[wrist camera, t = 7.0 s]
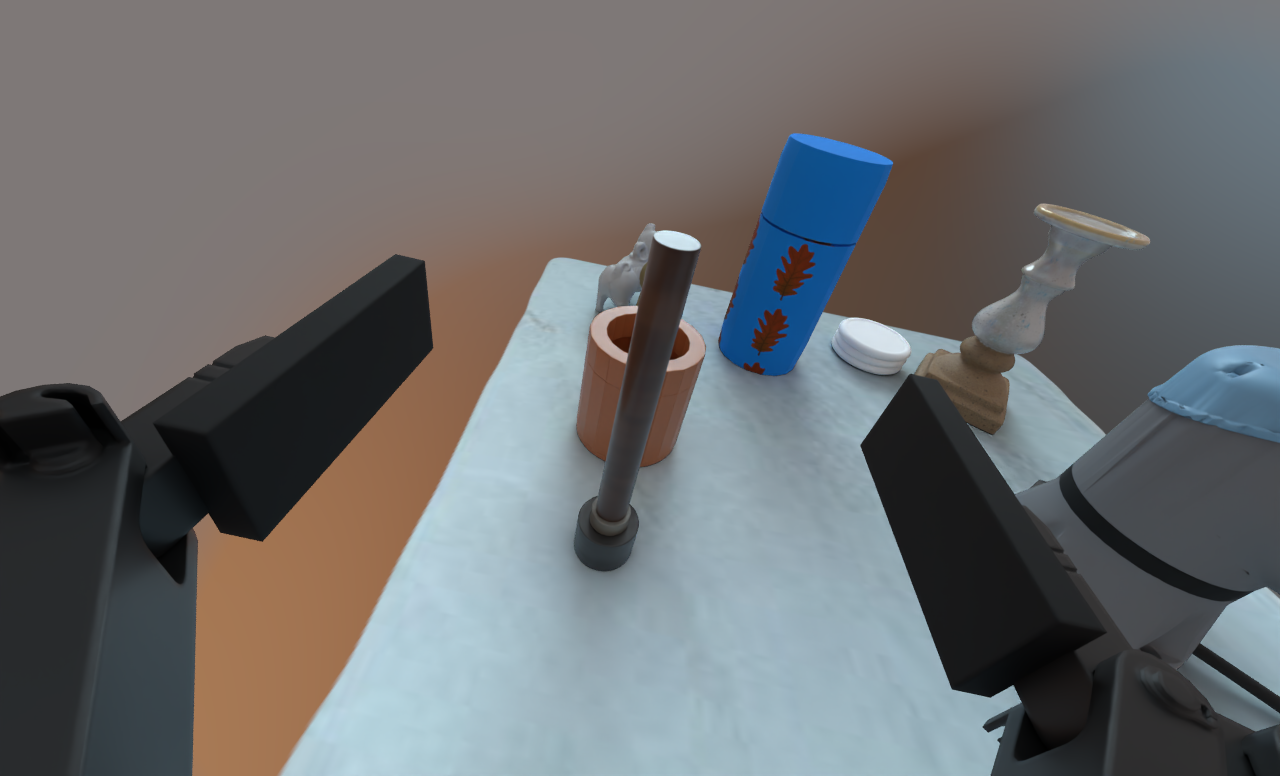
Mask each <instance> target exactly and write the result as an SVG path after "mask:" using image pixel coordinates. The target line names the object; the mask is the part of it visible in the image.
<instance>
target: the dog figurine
mask: <svg viewBox="0 0 1280 776" xmlns="http://www.w3.org/2000/svg"><path fill="white" fill-rule="evenodd" d="M654 233H656V231H655V225H654V224H648V225H647V226H646V227H645V229H644V231H643V233H642V234H641V235H640V236H639V239H638V242H637V243H636V244H635V246H634V249H633V252H631V253H630V255H629V256H627V257H624V258H623V259H622V260H621V261H620V262H619V263H617V265H610V266H608V267H607V268H606V269H605V270H604V271H603V272H602V273H601V275H600V277H599V284H598V295H597V302H596V309H595V310H597V311H598V312H601V311H603V305H604V302H605V301H606V299H607V298H608V297H609V298H611V300H612V301H613V302H614V304H615V305H616V306H617V307H620V306H629V303H630V299H631V298H632V296H633V295H634V293H635V292H640V291H641V290H642V288H641V285H640V280H639V277H640V272H641V270H642V267H643V266H644V265H645V264H646V263H647V262H648V257H649V252H650V247H651V243H652V238H653V235H654Z"/></svg>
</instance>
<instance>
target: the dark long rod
mask: <svg viewBox="0 0 1280 776" xmlns="http://www.w3.org/2000/svg"><path fill="white" fill-rule="evenodd" d="M700 249H701V244H700V243H699V241H697V240H696V239H694V238H693V237H690V236H689V235H686V234H683V233H680V232H675V231H658V232H656V233H654V235H653V238H652V243H651V247H650V252H649V257H648V262H647V267H646V271H645V276H644V281H643V286H642V290H641V295H640V300H639V305H638V309H637V314H636V319H635V324H634V328H633V333H632V338H631V343H630V347H629V352H628V357H627V362H626V366H625V371H624V376H623V381H622V385H621V390H620V395H619V400H618V405H617V409H616V414H615V419H614V424H613V428H612V433H611V438H610V443H609V447H608V452H607V457H606V462H605V466H604V471H603V476H602V481H601V485H600V490H599V495H598V496H596V497H594V498H592V499H590V500H588V501H587V502H586V503H585V504H584V505H583V506H582V508H581V509H580V512H579V515H578V521H577V527H576V532H575V538H574V548H575V552H576V554H577V556H578V558H579V559H580V560H581V561H582V562H583V563H584V564H585V565H586V566H588V567H590V568H592V569H595V570H599V571H609V570H613V569H616V568H618V567H620V566H621V565H623V564H624V563H625V562H626V561H627V559H628V558H629V556H630V553H631V550H632V547H633V544H634V541H635V537H636V534H637V531H638V527H639V520H638V516H637V513H636V511H635V510H634V508H633V507H632V506H631V505H630V504H629V503H630V499H631V496H632V492H633V489H634V485H635V482H636V478H637V474H638V471H639V467H640V464H641V460H642V457H643V453H644V449H645V446H646V442H647V439H648V435H649V432H650V428H651V424H652V421H653V417H654V414H655V410H656V407H657V403H658V399H659V396H660V392H661V389H662V385H663V382H664V378H665V374H666V371H667V367H668V364H669V360H670V357H671V353H672V349H673V346H674V342H675V339H676V335H677V332H678V328H679V324H680V321H681V317H682V314H683V310H684V307H685V303H686V299H687V296H688V292H689V289H690V285H691V282H692V278H693V274H694V271H695V267H696V264H697V260H698V256H699V253H700Z"/></svg>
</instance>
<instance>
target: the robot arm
mask: <svg viewBox="0 0 1280 776" xmlns="http://www.w3.org/2000/svg"><path fill="white" fill-rule="evenodd" d="M432 349H433V341H432V331H431V320H430V310H429V300H428V290H427V280H426V270H425V261H423V260H418V259H414V258H409V257H405V256H401V255H397V254H395V255H394V256H392V257H391V258H389V259H388V260H386V261H385V262H384V263H382V264H381V265H379V266H378V267H376V268H375V269H373V270H372V271H371V272H369V273H368V274H366V275H365V276H363V277H362V278H360V279H359V280H358V281H356V282H355V283H353V284H352V285H350V286H349V287H348V288H346V289H345V290H343V291H342V292H340V293H339V294H337V295H336V296H335V297H333V298H332V299H330V300H329V301H327V302H326V303H324V304H323V305H322V306H320V307H319V308H317V309H316V310H314V311H313V312H311V313H310V314H309V315H307V316H306V317H304V318H303V319H301V320H300V321H299V322H297V323H296V324H294V325H293V326H291V327H290V328H288V329H287V330H286V331H284V332H283V333H281V334H280V335H278V336H277V337H276V338H274V337H269V336H263V337H260V338H257V339H255V340H252V341H249V342H247V343H244V344H241V345H238V346H236V347H234V348H233V349H231V350H230V351H228V352H226V353H225V354H224V355H222V356H220V357H219V358H217V359H216V360H214V361H213V364H212V365H209V364H208V365H207V366H205V367H203V368H202V369H200V370H199V371H198V372H196V373H194V377H193V378H191V377H188V378H187V379H185V380H184V381H182V382H181V383H179V384H178V385H176V386H174V387H173V388H171V389H170V390H168V391H167V392H165V393H164V394H162V395H161V396H159V397H158V398H156V399H155V400H153V401H152V402H150V403H148V404H147V405H146V406H144V407H142V408H141V409H139V410H138V411H136V412H135V413H133V414H132V415H130V416H129V417H127V418H126V419H124V420H122V421H121V422H120V421H119V419H118V418H117V416H116V415H115V413H114V412H113V410H112V409H111V407H110V406H109V404H108V403H107V401H106V400H105V398H104V397H103V396H102V394H101V393H100V392H99V391H97V390H95V389H93V388H91V387H90V386H85V385H78V384H70V383H66V384H50V385H42V386H36V387H32V388H27V389H22V390H18V391H14V392H11V393H9V394H6V395H3V396H1V397H0V776H192V762H193V761H192V760H193V721H194V679H195V637H196V595H197V594H196V593H197V554H198V540H197V537H196V534H195V531H194V530H193V527H194V526H195V525H196V524H197V523H198V522H199V521H200V520H201V519H202V518H204V517H205V516H206V515H207V514H208V513H209V515H210V516H211V518H212V519H213V521H214V523H215V524H216V526H217V528H218V529H219V531H220V532H221V533H225V534H229V535H234V536H239V537H243V538H248V539H253V540H257V541H262V542H263V540H264V539H265V538H266V537H267V536H268V535H269V534H270V533H271V531H272V530H273V529H274V528H275V527H276V525H278V523H279V522H280V521H281V520H282V519H283V518H284V517H285V516H286V514H287V513H288V512H289V511H290V510H291V509H292V508H293V506H294V505H295V504H296V503H297V502H298V501H299V500H300V499H301V497H302V496H303V495H304V494H305V493H306V492H307V491H308V490H309V488H310V487H311V486H312V485H313V484H314V483H315V482H316V480H317V479H318V478H319V477H320V476H321V474H323V472H324V471H325V470H326V469H327V468H328V467H329V466H330V465H331V463H332V462H333V461H334V460H335V459H336V458H337V457H338V456H339V454H340V453H341V452H342V451H343V450H344V449H345V448H346V446H347V445H348V444H349V443H350V442H351V441H352V440H353V438H354V437H355V436H356V435H357V434H358V433H359V432H360V431H361V429H362V428H363V427H364V426H365V425H366V424H367V423H368V422H369V420H370V419H371V418H372V417H373V416H374V415H375V414H376V412H377V411H378V410H379V409H380V408H381V407H382V406H383V405H384V403H385V402H386V401H387V400H388V399H389V398H390V397H391V396H392V394H393V393H394V392H395V391H396V390H397V389H398V388H399V386H400V385H401V384H402V383H403V382H404V381H405V380H406V378H407V377H408V376H409V375H410V374H411V373H412V372H413V371H414V369H415V368H416V367H417V366H418V365H419V364H420V363H421V362H422V360H423V359H424V358H425V357H426V356H427V355H428V354H429V352H430V351H431V350H432ZM1148 396H1149V399H1148V400H1147V401H1145V402H1144V403H1143V404H1142V405H1141V406H1140V407H1139V408H1137V409H1136V410H1135V411H1134V412H1133V413H1131V414H1130V415H1129V416H1128V417H1127V418H1126V419H1124V420H1123V421H1122V422H1121V423H1120V424H1119V425H1117V426H1116V427H1115V428H1114V429H1113V430H1112V431H1110V432H1109V433H1108V434H1107V435H1106V436H1105V437H1103V438H1102V439H1101V440H1100V441H1099V442H1098V443H1096V444H1095V445H1094V446H1093V447H1092V448H1091V449H1090V450H1088V451H1087V452H1086V453H1085V454H1084V455H1083V456H1081V457H1080V458H1079V459H1078V460H1077V461H1076V462H1075V463H1074V464H1073V465H1071V466H1070V467H1069V468H1068V469H1067V470H1066V471H1064V472H1063V473H1062V474H1061V475H1060V476H1058V477H1057V478H1055V479H1053V480H1051V481H1048V482H1045V481H1042V480H1039V481H1037V482H1036V483H1035V484H1034V485H1033V486H1032V487H1031V488H1030V489H1028V490H1025V491H1023V492H1020V493H1017V494H1014V493H1013V491H1012V490H1011V488H1010V487H1009V485H1008V484H1007V483H1006V481H1005V480H1004V478H1003V477H1002V475H1001V474H1000V472H999V471H998V469H997V468H996V466H995V465H994V463H993V462H992V460H991V459H990V457H989V456H988V454H987V453H986V451H985V450H984V448H983V447H982V445H981V444H980V442H979V441H978V439H977V438H976V436H975V435H974V433H973V432H972V430H971V429H970V427H969V426H968V425H967V423H966V422H965V420H964V419H963V417H962V416H961V414H960V413H959V411H958V410H957V408H956V407H955V405H954V404H953V402H952V401H951V399H950V398H949V396H948V395H947V393H946V392H945V390H944V389H943V387H942V386H941V384H940V383H939V381H938V380H936V379H931V378H927V377H923V376H918V375H914V374H909V376H908V377H907V379H906V380H905V382H904V383H903V384H902V386H901V387H900V389H899V390H898V392H897V393H896V395H895V396H894V397H893V399H892V400H891V402H890V403H889V405H888V406H887V408H886V409H885V410H884V412H883V413H882V415H881V416H880V418H879V419H878V421H877V422H876V423H875V425H874V426H873V428H872V429H871V431H870V432H869V434H868V435H867V436H866V438H865V439H864V441H863V442H862V444H861V445H860V446H861V448H862V451H863V454H864V456H865V459H866V462H867V464H868V467H869V470H870V472H871V475H872V478H873V480H874V483H875V486H876V488H877V491H878V494H879V496H880V499H881V502H882V504H883V507H884V510H885V512H886V515H887V518H888V520H889V523H890V526H891V528H892V531H893V534H894V536H895V539H896V542H897V544H898V547H899V550H900V552H901V555H902V558H903V560H904V563H905V566H906V568H907V571H908V574H909V576H910V579H911V582H912V584H913V587H914V590H915V592H916V595H917V598H918V600H919V603H920V606H921V608H922V611H923V614H924V616H925V619H926V622H927V624H928V627H929V630H930V632H931V635H932V638H933V640H934V643H935V646H936V648H937V651H938V654H939V656H940V659H941V662H942V664H943V667H944V670H945V672H946V675H947V678H948V680H949V683H950V686H951V688H952V689H953V690H957V691H962V692H967V693H971V694H976V695H981V696H985V697H990V698H991V697H992V696H994V695H996V694H998V693H1000V692H1001V691H1003V690H1005V689H1007V688H1009V687H1010V686H1012V685H1014V687H1015V689H1016V691H1017V693H1018V695H1019V698H1020V700H1021V702H1022V703H1020V704H1018V705H1016V706H1014V707H1012V708H1010V709H1009V710H1007V711H1005V712H1003V713H1001V714H999V715H997V716H995V717H993V718H991V719H989V720H988V721H987V722H986V723H985V724H984V726H983V728H984V729H985V730H986V731H987V732H990V731H992V730H994V729H997V728H999V727H1001V726H1005V729H1004V732H1003V736H1002V737H1001V738H999V739H998V740H997V741H998V742H1000V746H999V749H998V753H997V756H996V759H995V763H994V766H993V769H992V773H991V776H1280V724H1279V725H1276V726H1273V727H1269V728H1266V729H1263V730H1260V731H1257V732H1255V731H1253V730H1251V729H1249V728H1247V727H1245V726H1243V725H1241V724H1238V723H1236V722H1234V721H1232V720H1230V719H1228V718H1226V717H1224V716H1222V715H1220V714H1218V713H1216V712H1215V711H1214V710H1213V708H1212V707H1211V705H1210V704H1209V702H1208V701H1207V699H1206V698H1205V697H1204V696H1203V695H1202V694H1201V693H1200V692H1199V691H1198V690H1197V688H1196V687H1195V686H1194V685H1193V684H1192V683H1191V682H1190V681H1189V680H1188V679H1187V678H1185V677H1184V676H1183V675H1182V674H1180V673H1179V672H1178V671H1177V670H1176V669H1178V668H1179V667H1181V666H1182V665H1183V664H1184V662H1185V661H1186V660H1188V658H1189V657H1190V655H1191V654H1194V655H1195V656H1197V657H1198V658H1200V659H1201V660H1203V661H1204V662H1206V663H1207V664H1208V665H1210V666H1211V667H1213V668H1214V669H1216V670H1217V671H1219V672H1220V673H1222V674H1223V675H1225V676H1226V677H1228V678H1229V679H1231V680H1232V681H1234V682H1235V683H1236V684H1238V685H1239V686H1241V687H1242V688H1244V689H1245V690H1247V691H1248V692H1250V693H1251V694H1253V695H1254V696H1255V697H1257V698H1258V699H1260V700H1261V701H1263V702H1264V703H1266V704H1267V705H1269V706H1270V707H1271V708H1273V709H1274V710H1276V711H1277V712H1279V713H1280V697H1279V696H1278V695H1276V694H1275V693H1273V692H1272V691H1270V690H1269V689H1267V688H1266V687H1264V686H1263V685H1261V684H1260V683H1259V682H1257V681H1256V680H1254V679H1253V678H1251V677H1250V676H1248V675H1247V674H1245V673H1244V672H1242V671H1241V670H1239V669H1238V668H1236V667H1235V666H1233V665H1232V664H1230V663H1229V662H1227V661H1226V660H1224V659H1223V658H1221V657H1220V656H1218V655H1217V654H1215V653H1214V652H1212V651H1211V650H1209V649H1208V648H1206V647H1205V646H1203V645H1202V644H1200V642H1201V640H1202V639H1203V638H1204V636H1205V635H1206V633H1207V632H1208V631H1209V629H1210V628H1211V627H1212V625H1213V624H1214V623H1215V621H1216V620H1217V618H1218V617H1219V616H1220V614H1221V613H1222V612H1223V610H1224V609H1225V607H1226V606H1227V605H1229V604H1230V603H1232V602H1234V601H1236V600H1238V599H1240V598H1242V597H1244V596H1246V595H1248V594H1250V593H1251V592H1253V591H1255V590H1258V589H1261V588H1264V587H1268V588H1270V589H1272V590H1274V591H1275V592H1277V593H1278V594H1280V349H1278V348H1271V347H1263V346H1249V345H1237V346H1228V347H1222V348H1218V349H1214V350H1211V351H1209V352H1207V353H1204V354H1202V355H1201V356H1199V357H1197V358H1196V359H1195V360H1193V361H1192V362H1191V363H1190V364H1188V365H1187V366H1186V367H1185V368H1183V369H1182V370H1181V371H1179V372H1178V373H1177V374H1176V375H1174V376H1173V377H1172V378H1171V379H1170V380H1168V381H1167V382H1165V383H1164V384H1162V385H1159V386H1156V387H1154V388H1153V389H1152V390H1151V391H1150V392H1149V393H1148Z"/></svg>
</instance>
